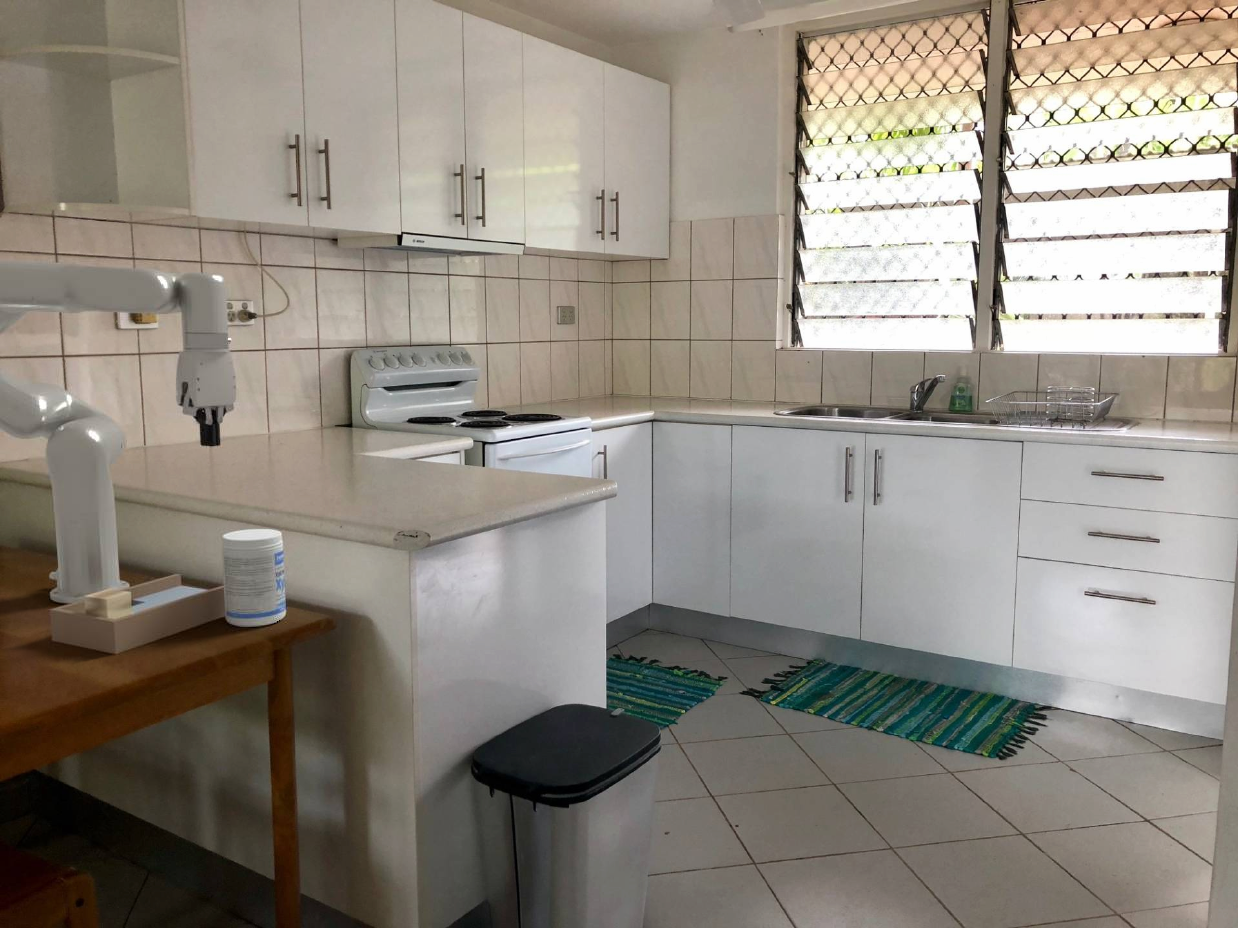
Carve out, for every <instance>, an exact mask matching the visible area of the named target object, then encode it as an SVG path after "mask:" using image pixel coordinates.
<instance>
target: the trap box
mask: <svg viewBox="0 0 1238 928" xmlns="http://www.w3.org/2000/svg"><path fill="white" fill-rule="evenodd" d="M121 591H128V592H131V603H132V614H130V615H127V616H124V617H121V618H117V619H111V618H106V617H101V616H96V615H91V614H86V613H85V600H82V601H78V602H75V603H67V604H64V605H60V606H57V607H54V608H50V609H49V619H50V620H49V621H50V632H51V641H52V642H55V643H56V642H57V643H62V644H66V645H71V646H75V647H76V646H77V647H79V648H80V647H81V648H85V649H89V650H94V651H97V652H98V651H99V652H104V653H108V654H113V655H118V654H121V653H123V652H126V651H130V650H132V649H135V648H138V647H140V646H143V645H147V644H149V643H152V642H155V641H157V640H160V639H164V638H167V637H169V636H172V635H175V634H178V633H181V632H183V631H187V630H190V629H192V628H195V627H198V626H201V625H204V624H206V623H210V622H212V621H216V620H217V619H221V618H224V617H226V616H225V597H224V584H223V585H220V586H217V587H214V588H211V589H204V588H200V587H199V588H198V587H191V586H185V585H182V575H181V574H180V573H179V574H178V573H174V574H171V575H168V576H167V575H166V576H164V577H161V578H157V579H153V580H150V581H146V582H143V583H140V584H135V585H132V586H129V587H128V588H124V589H121Z"/></svg>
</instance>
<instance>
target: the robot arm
mask: <svg viewBox="0 0 1238 928" xmlns="http://www.w3.org/2000/svg"><path fill="white" fill-rule="evenodd" d="M227 297H228V296H227V282H226V280H225V277H224V276H223V275H221V274H219V273H212V272H187V273H184V274H183V273H181V274H180V273H173V272H168V271H163V270H156V269H149V268H136V267H134V268H132V267H115V266H114V267H111V266H94V265H93V266H91V265H82V264H79V263H74V262H73V263H70V262H53V261H52V262H50V261H35V260H34V261H31V260H16V259H15V260H14V259H13V260H11V259H0V336H1V335H3V334H4V333H5V332H6V331H7V330H8V329H9V328H10V327H12V326H13V325H15V323H17V322H18V320H20V319H21V318H22V317H24V316H25V315H26V313H28V312H42V313H43V312H45V313H63V314H66V313H67V314H79V313H80V314H81V313H84V312H101V313H102V312H103V313H122V314H123V313H124V314H125V313H128V314H144V315H145V314H147V315H152V314H153V315H169V314H178V313H179V314H180V313H181V314H180V315H181V331H182V335H181V336H182V351H179V354H178V357H177V364H176V375H175V377H176V378H175V400H176V404H177V405H178V406H179V407H182V414H183V415H185V416H190V417H193V418H194V419H195V423H196V424H197V425H199V441H200V445H201V447H219V446H221V426H220V424H222V423H223V419H224V417H225V415H226V414H227V413H230V412H233V411H234V410H235V406H234V404H235V402H236V400H237V379H236V371H235V365H234V360H233V356H232V352H231V350H230V348H229V347H230V345H229V344H231V342H232V339H231V338H230V336H229V323H228V322H229V321H228V301H227V300H228V298H227ZM0 430H1V431H3V432H4V433H7V435H10V436H11V437H14V438H17V439H22V440H29V439H35V438H36V439H37V438H40V437H43V438H44V439H47V442H46V446H45V460H46V465H47V466H46V467H47V469H48V473H49V474H48V475H49V479H50V483H51V488H52V499H53V501H52V502H53V512H54V523H55V524H54V525H55V536H56V537H55V538H56V552H57V555H56V556H57V564H58V565H57V569H56V570H55V571H52V572H50V574H49V575H48V576H49V577H48V578H49V579H50V580H54V581H56V586H57V587H55V588H53V589H52V590H50V592H49V596H50V599H51V601H53V602H55V603H61V604H71V603H75V602H78V601H82V600H85V598H84V596H87V595H90V594H93V593H97V592H100V591H103V590H107V589H114V590H121V589H124V588H128V587H130V583H129V582H127V581H125V580H121V579H120V565H119V551H118V549H119V548H118V547H119V545H118V532H117V531H118V530H117V518H116V515H117V514H116V513H117V512H116V506H115V503H116V501H115V491H114V484H113V480H112V477H111V473H110V465H112V464H114V463H116V462H117V461H119V460H120V458H122V456H123V455H124V453H125V451H126V449H127V442H128V441H127V436H126V433H125V431H124V429H123V427H122V426H121V425H120V424H119V423H118V422H117V421H116V420H114V419H113V418H112V417H110V415H109V416H108V415H107V414H105V413H104V412H103V411H101V410H99V409H98V408H96V407H94V406H92V405H91V404H89V403H88V402H86V401H85V400H84V399H81V398H80V397H78V396H76V395H75V394H73V393H72V392H69V391H68V390H66V389H64V388H63V387H60V386H58V385H55V384H53V383H47V382H31V383H27V382H24V381H22V380H19V379H18V378H16V377H14V376H12V375H11V374H8V373H7V372H5V371H3V369H0Z"/></svg>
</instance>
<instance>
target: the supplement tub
mask: <svg viewBox="0 0 1238 928" xmlns="http://www.w3.org/2000/svg"><path fill="white" fill-rule="evenodd" d="M221 540H222V544H221V553H222V554H221V557H222V573H223V585H224V597H225V616H224V617H225V620H226V622H227V623H228V624H230V625H232V626H236V627H242V628H250V627H251V628H252V627H263V626H267V625H271V624H274V623H277V621H278V622H279V620H280V621H281V620H282V619H284V617H285V616H286V614H287V608H286V607H287V606H286V588H285V587H286V585H285V580H286V579H285V560H284V558H285V557H284V543H283V534H282V532H281V531H279V530H277V529H269V528H253V529H252V528H250V529H241V530H236V531H230V532H227V533H225V534H223V535H222V539H221Z"/></svg>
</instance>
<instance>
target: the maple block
mask: <svg viewBox="0 0 1238 928" xmlns="http://www.w3.org/2000/svg"><path fill="white" fill-rule="evenodd" d="M84 598H85V613H86V614H91V615H96V616H101V617H106V618H111V619H117V618H121V617H124V616H127V615H130V614H132V603H131V592H128V591H121V590H114V589H107V590H103V591H100V592H97V593H93V594H90V595H87V596H84Z"/></svg>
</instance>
